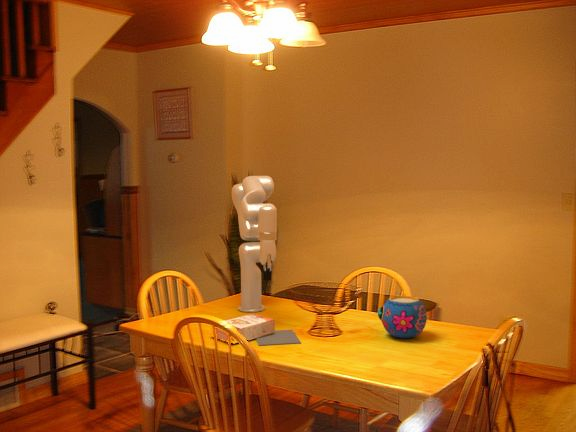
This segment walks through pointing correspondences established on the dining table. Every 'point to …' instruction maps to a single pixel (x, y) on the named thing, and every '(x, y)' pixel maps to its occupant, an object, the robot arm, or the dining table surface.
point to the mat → (278, 338)
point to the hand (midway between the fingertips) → (267, 280)
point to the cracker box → (249, 327)
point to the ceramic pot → (403, 316)
